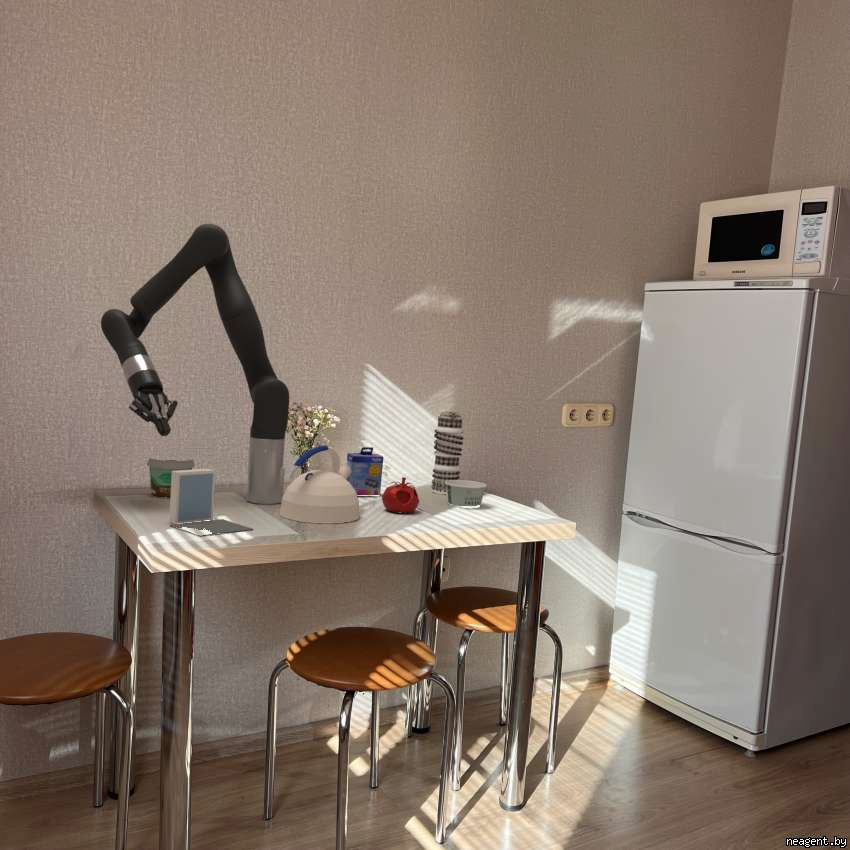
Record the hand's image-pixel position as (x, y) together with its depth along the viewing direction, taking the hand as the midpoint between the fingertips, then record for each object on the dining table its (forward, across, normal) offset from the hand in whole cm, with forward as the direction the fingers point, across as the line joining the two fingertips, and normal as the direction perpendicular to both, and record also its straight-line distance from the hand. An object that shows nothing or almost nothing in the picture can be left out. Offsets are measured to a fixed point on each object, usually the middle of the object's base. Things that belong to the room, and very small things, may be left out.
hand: (166, 434), depth 213 cm
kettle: (+29, +31, -4) cm, 43 cm away
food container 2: (+36, +78, -12) cm, 87 cm away
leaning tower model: (+24, +90, +1) cm, 93 cm away
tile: (+23, -1, +3) cm, 23 cm away
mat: (+28, -1, -3) cm, 29 cm away
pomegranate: (+34, +54, -9) cm, 64 cm away
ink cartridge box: (+18, +62, +7) cm, 65 cm away
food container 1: (+4, +12, +24) cm, 27 cm away
